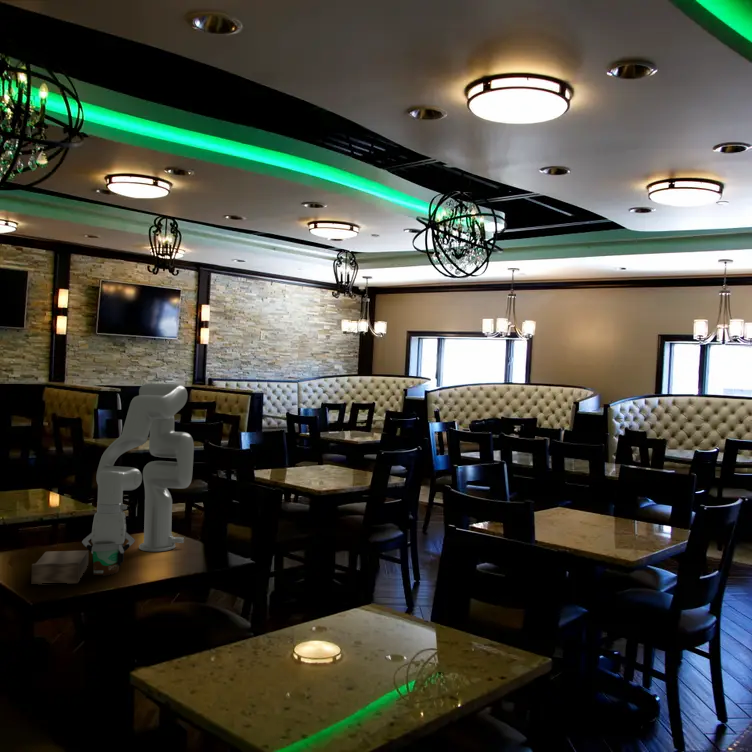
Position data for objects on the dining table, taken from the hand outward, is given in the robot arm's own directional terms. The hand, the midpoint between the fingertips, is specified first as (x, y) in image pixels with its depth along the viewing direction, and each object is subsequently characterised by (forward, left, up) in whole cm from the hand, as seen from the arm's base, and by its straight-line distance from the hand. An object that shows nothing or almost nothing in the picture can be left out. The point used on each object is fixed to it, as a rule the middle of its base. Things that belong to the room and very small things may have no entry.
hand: (107, 564), depth 232 cm
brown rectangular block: (+14, +1, -3) cm, 14 cm away
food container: (-1, 0, -3) cm, 3 cm away
